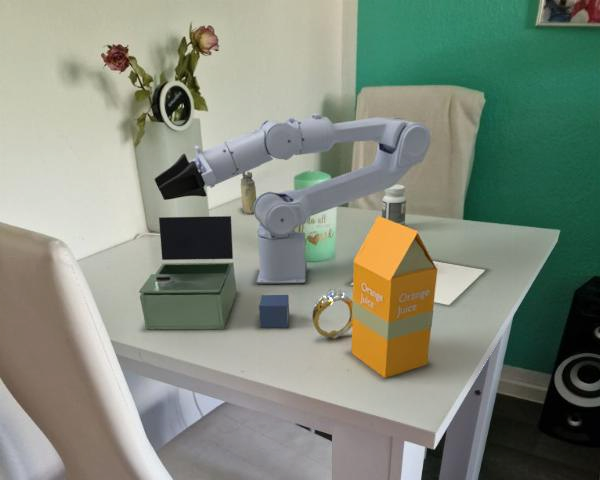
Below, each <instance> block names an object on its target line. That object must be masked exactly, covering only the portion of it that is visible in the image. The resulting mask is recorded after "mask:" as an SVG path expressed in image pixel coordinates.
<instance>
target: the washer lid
mask: <svg viewBox="0 0 600 480" xmlns="http://www.w3.org/2000/svg"><path fill="white" fill-rule="evenodd" d="M158 224H159V236H160V248H161V249H160V250H161V260H162V261H170V260H171V261H178V260H179V261H180V260H185V261H187V260H190V261H191V260H233V259H234V252H233V250H234V249H233V231H232V230H233V229H232V216H230V215H220V216H164V217H163V216H161V217H158Z"/></svg>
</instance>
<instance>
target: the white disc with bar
mask: <svg viewBox="0 0 600 480" xmlns="http://www.w3.org/2000/svg"><path fill="white" fill-rule="evenodd" d="M154 285H155V287H156V288H169V287H172V286H173V285H174V279H173V277H172V276H159V277H156V278H155V279H154Z"/></svg>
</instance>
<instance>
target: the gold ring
mask: <svg viewBox="0 0 600 480" xmlns="http://www.w3.org/2000/svg"><path fill="white" fill-rule="evenodd" d="M346 293H347V291H346V290H343V292H342V289H339V290H338V288H335V290H333V288H329V291H327V292H325V293H324V294H323V295H322V296H320V298H319V299H318V300H317V301H316V302H315V305H314V308H313V311H312V317H311V318H312V319H311V320H312V323H313V326H314V328H315V330H316V331H317V333H318V334H320V335H321V336H323V337H325V338H330V339H331V338H332V339H333V340H336V339H338V337H342V336H344V335H345V334H347V333H348V332H349V331H350V330H352V318H353V317H352V302H353V299H351V298H350V297H348V296H346ZM338 301H341V302H343V303H344V304H346V305H347V307H348V309H349V318H348V321H347V323H346V324H345V326H343V327H342V328H341V329H339V330H331V331H330V332H329V331H325V330H323V328H321V327H320V325H319V320H320V316H321V315H322V313H323V312H324V311H325V310H326V309H327V308H329V307H330V306H332V304H333V303H334V302H338Z"/></svg>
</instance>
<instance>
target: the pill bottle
mask: <svg viewBox="0 0 600 480" xmlns="http://www.w3.org/2000/svg"><path fill="white" fill-rule="evenodd" d="M405 192H406V186H405V185H403V184H395V185H394V186H392V187H390V188H388V189H385V190H384V193H385V195H384V196H383V197H382V207H381V217H382V218H385V219H388V220H390V221H393V222H395V223H398V224H401V225H403V226H405V224H406V210H407V209H406V208H407V198H406V196H405V195H404V194H405Z"/></svg>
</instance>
